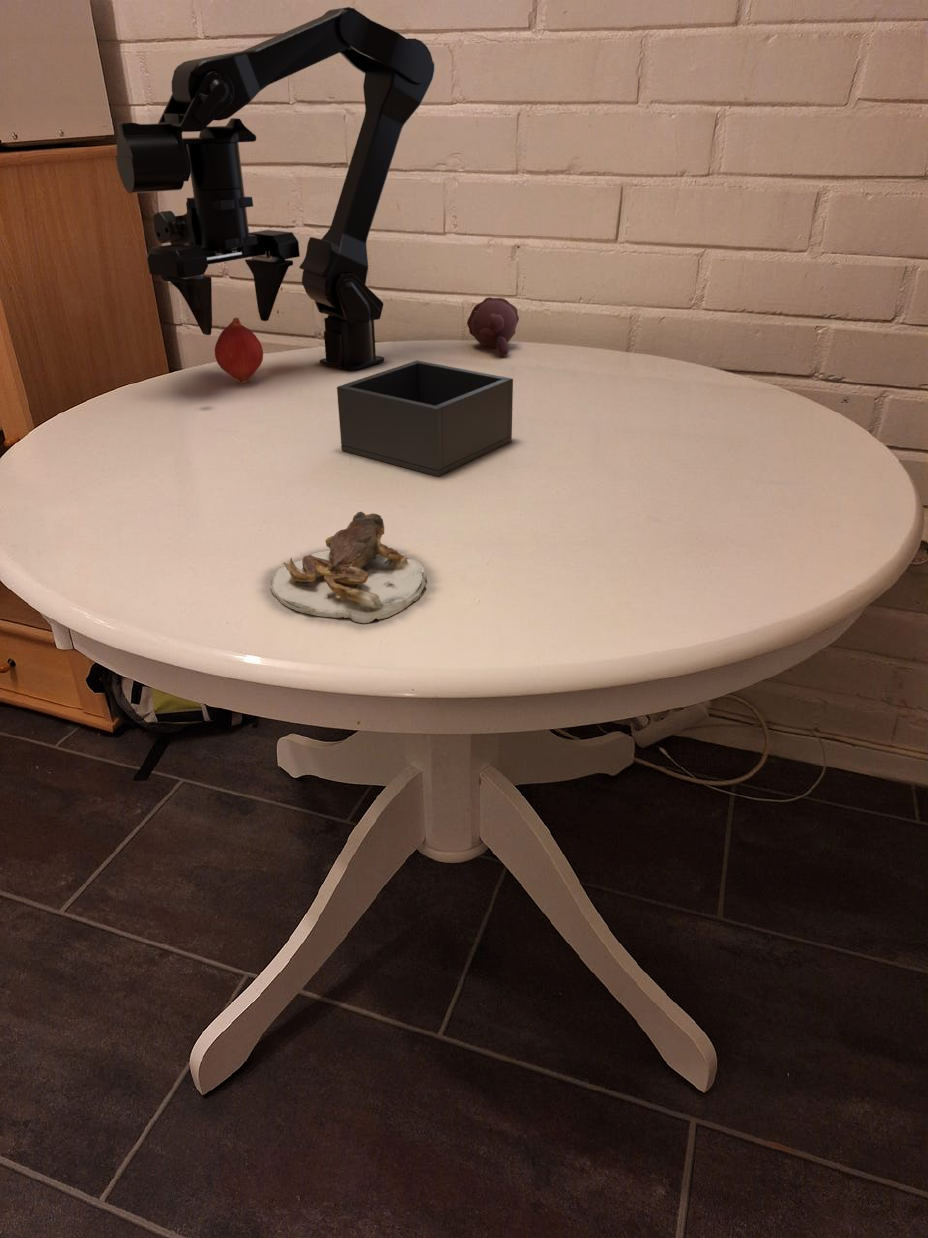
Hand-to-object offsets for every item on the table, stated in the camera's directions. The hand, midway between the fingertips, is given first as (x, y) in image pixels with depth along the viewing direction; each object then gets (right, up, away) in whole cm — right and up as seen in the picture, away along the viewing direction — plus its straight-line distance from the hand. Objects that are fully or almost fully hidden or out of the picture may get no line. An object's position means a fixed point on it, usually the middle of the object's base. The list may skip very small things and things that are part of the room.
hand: (236, 327), depth 112 cm
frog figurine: (+19, -33, -44) cm, 58 cm away
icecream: (+32, +3, +19) cm, 38 cm away
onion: (0, -6, +3) cm, 7 cm away
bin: (+24, -18, -18) cm, 35 cm away
